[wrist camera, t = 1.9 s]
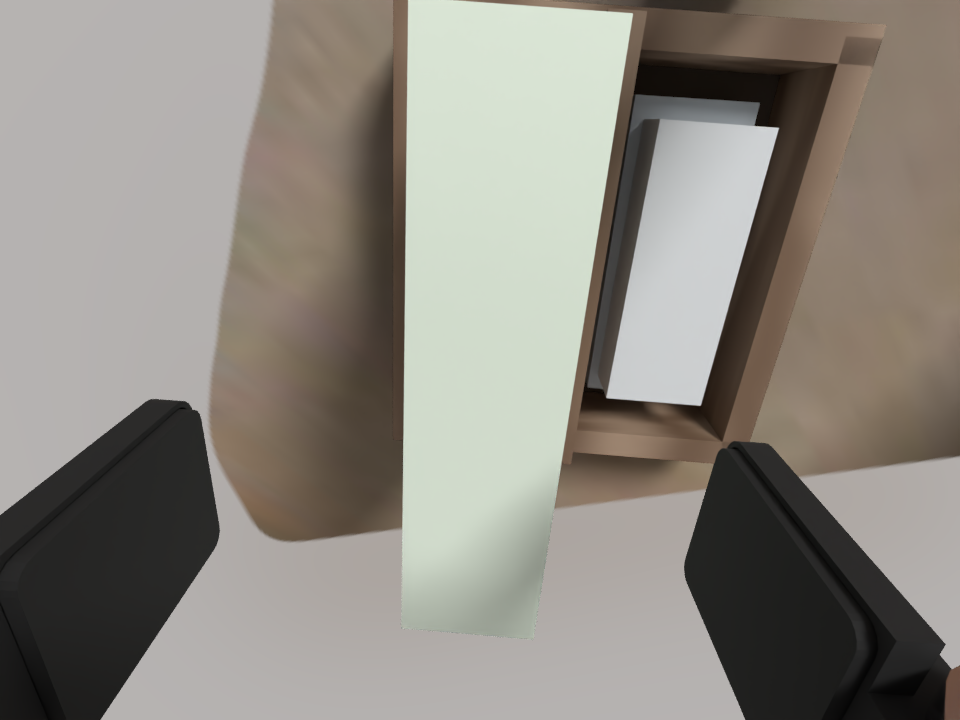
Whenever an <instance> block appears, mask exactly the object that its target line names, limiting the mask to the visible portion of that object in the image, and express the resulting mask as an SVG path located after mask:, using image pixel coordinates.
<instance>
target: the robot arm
mask: <svg viewBox="0 0 960 720" xmlns="http://www.w3.org/2000/svg"><path fill="white" fill-rule="evenodd" d="M219 532H220V530H219V521H218V515H217V509H216V504H215V498H214V492H213V486H212V480H211V474H210V468H209V463H208V457H207V451H206V445H205V439H204V433H203V427H202V421H201V417H200V414H199V413H198V411H195V410H192V408H191V406H190V405H189V403H187V402H185V401H172V400H159V399H151V400H148V401H147V402H145V403H144V404H142V405H141V406H140V407H139V408H138V409H136V410H135V411H134V412H132V413H131V414H130V415H128V416H127V417H126V418H124V419H123V420H122V421H121V422H119V423H118V424H117V425H116V426H114V427H113V428H112V429H110V430H109V431H108V432H107V433H105V434H104V435H103V436H101V437H100V438H99V439H97V440H96V441H95V442H94V443H93V444H91V445H90V446H88V447H87V448H86V449H85V450H83V451H82V452H81V453H79V454H78V455H77V456H76V457H74V458H73V459H72V460H71V461H69V462H68V463H67V464H65V465H64V466H63V467H62V468H60V469H59V470H58V471H56V472H55V473H54V474H53V475H51V476H50V477H49V478H47V479H46V480H45V481H44V482H42V483H41V484H40V485H38V486H37V487H36V488H35V489H34V490H32V491H31V492H29V493H28V494H27V495H26V496H24V497H23V498H22V499H20V500H19V501H18V502H17V503H15V504H14V505H13V506H11V507H10V508H9V509H8V510H6V511H5V512H4V513H3V514H1V515H0V720H100V719H101V718H102V717H103V715H104V713H105V712H106V711H107V709H108V708H109V706H110V704H111V703H112V702H113V700H114V699H115V697H116V696H117V694H118V693H119V691H120V690H121V688H122V687H123V685H124V683H125V682H126V681H127V679H128V678H129V676H130V675H131V673H132V672H133V670H134V669H135V667H136V666H137V664H138V663H139V661H140V660H141V658H142V657H143V655H144V654H145V652H146V651H147V649H148V648H149V646H150V645H151V643H152V642H153V640H154V639H155V637H156V635H157V634H158V633H159V631H160V630H161V628H162V627H163V625H164V624H165V622H166V621H167V619H168V618H169V616H170V615H171V613H172V612H173V610H174V609H175V607H176V606H177V604H178V603H179V601H180V600H181V598H182V597H183V595H184V594H185V592H186V591H187V589H188V588H189V586H190V585H191V583H192V582H193V580H194V579H195V577H196V576H197V574H198V572H199V571H200V570H201V568H202V567H203V565H204V564H205V562H206V561H207V559H208V558H209V556H210V555H211V553H212V552H213V550H214V549H215V546H216V545H217V542H218V538H219ZM684 571H685V578H686V581H687V584H688V586H689V589H690V591H691V594H692V596H693V598H694V601H695V603H696V605H697V608H698V610H699V612H700V615H701V617H702V619H703V621H704V624H705V626H706V628H707V631H708V633H709V635H710V638H711V640H712V643H713V645H714V647H715V650H716V652H717V654H718V657H719V659H720V661H721V664H722V666H723V668H724V670H725V673H726V675H727V678H728V680H729V682H730V685H731V687H732V689H733V692H734V694H735V696H736V699H737V701H738V703H739V706H740V708H741V710H742V713H743V715H744V717H745V720H960V666H958V667H956V668H954V669H951V668H950V667H949V666H948V664H947V663H946V662H945V661H944V660H943V659H942V657H941V656H940V653H941V651H942V650H943V648H944V646H945V643H944V642H943V641H942V640H941V639H940V637H939V636H938V635H937V634H936V633H935V632H934V631H933V629H932V628H931V627H930V626H929V625H928V624H927V623H926V622H925V620H924V619H923V618H922V617H921V616H920V615H919V614H918V613H917V611H916V610H915V609H914V608H913V607H912V606H911V605H910V603H909V602H908V601H907V600H906V599H905V598H904V597H903V595H902V594H901V593H900V592H899V591H898V590H897V589H896V588H895V586H894V585H893V584H892V583H891V582H890V581H889V580H888V578H887V577H886V576H885V575H884V574H883V573H882V572H881V571H880V569H879V568H878V567H877V566H876V565H875V564H874V563H873V561H872V560H871V559H870V558H869V557H868V556H867V555H866V553H865V552H864V551H863V550H862V549H861V548H860V547H859V546H858V544H857V543H856V542H855V541H854V540H853V539H852V538H851V536H850V535H849V534H848V533H847V532H846V531H845V530H844V528H843V527H842V526H841V525H840V524H839V523H838V522H837V520H835V518H834V517H833V516H832V515H831V514H830V513H829V512H828V510H827V509H826V508H825V507H824V506H823V505H822V504H821V502H820V501H819V500H818V499H817V498H816V497H815V496H814V494H813V493H812V492H811V491H810V490H809V489H808V488H807V486H806V485H805V484H804V483H803V482H802V481H801V480H800V478H799V477H798V476H797V475H796V474H795V473H794V472H793V471H792V469H791V468H790V467H789V466H788V465H787V464H786V463H785V461H784V460H783V459H782V458H781V457H780V456H779V455H778V453H777V452H776V451H775V450H774V449H773V448H772V447H771V446H770V445H769V444H766V443H755V442H741V441H733V442H731V443H730V444H729V445H728V447H727V448H722V449H720V450H719V452H718V454H717V456H716V459H715V463H714V466H713V469H712V472H711V476H710V479H709V482H708V486H707V489H706V492H705V496H704V499H703V502H702V506H701V509H700V512H699V516H698V519H697V522H696V526H695V529H694V532H693V536H692V539H691V542H690V546H689V549H688V552H687V556H686V559H685V565H684Z"/></svg>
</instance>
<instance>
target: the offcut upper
mask: <svg viewBox="0 0 960 720" xmlns="http://www.w3.org/2000/svg"><path fill="white" fill-rule="evenodd" d="M778 130H779V128H773V127H760V126H747V125H733V124H720V123H707V122H694V121H680V120H667V119H644V121H643V126H642V132H641V137H640V143H639V148H638V154H637V159H636V165H635V170H634V176H633V181H632V187H631V192H630V198H629V203H628V209H627V214H626V220H625V225H624V231H623V236H622V242H621V247H620V253H619V258H618V264H617V269H616V275H615V280H614V286H613V292H612V297H611V303H610V308H609V314H608V319H607V325H606V330H605V336H604V341H603V347H602V352H601V358H600V364H599V369H598V377H599V380H600V382H601V385H602V388H603V391H604V393H605V396H606V398H611V399H623V400H635V401H648V402H660V403H672V404H685V405H697V406H701V403H702V400H703V396H704V392H705V389H706V385H707V382H708V378H709V375H710V371H711V368H712V364H713V360H714V357H715V353H716V350H717V346H718V343H719V339H720V336H721V332H722V329H723V325H724V321H725V318H726V314H727V311H728V307H729V304H730V300H731V297H732V293H733V289H734V286H735V282H736V279H737V275H738V272H739V268H740V265H741V261H742V257H743V254H744V250H745V247H746V243H747V240H748V236H749V233H750V229H751V226H752V222H753V218H754V215H755V211H756V208H757V204H758V201H759V197H760V194H761V190H762V186H763V183H764V179H765V176H766V172H767V169H768V165H769V162H770V158H771V155H772V151H773V147H774V144H775V140H776V137H777V133H778Z"/></svg>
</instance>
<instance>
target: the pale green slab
mask: <svg viewBox="0 0 960 720" xmlns="http://www.w3.org/2000/svg"><path fill="white" fill-rule="evenodd" d="M632 17H633V13H622V12H608V11H594V10H581V9H567V8H553V7H539V6H526V5H512V4H498V3H484V2H471V1H457V0H408V59H407V153H406V247H405V341H404V436H403V530H402V533H403V535H402V536H403V537H402V540H403V541H402V627H401V628H404V629H416V630H428V631H440V632H451V633H462V634H475V635H485V636H497V637H508V638H520V639H531V640H532V639H533V638H534V632H535V626H536V619H537V613H538V607H539V601H540V594H541V588H542V582H543V575H544V569H545V563H546V556H547V550H548V544H549V537H550V532H551V525H552V519H553V513H554V507H555V500H556V494H557V488H558V481H559V475H560V469H561V463H562V456H563V450H564V444H565V438H566V431H567V425H568V419H569V412H570V406H571V400H572V394H573V387H574V381H575V375H576V369H577V362H578V356H579V350H580V344H581V337H582V331H583V325H584V318H585V312H586V306H587V300H588V293H589V287H590V281H591V275H592V268H593V262H594V256H595V249H596V243H597V237H598V231H599V224H600V218H601V212H602V206H603V199H604V193H605V187H606V180H607V174H608V168H609V162H610V155H611V149H612V143H613V137H614V130H615V124H616V118H617V111H618V105H619V99H620V93H621V86H622V80H623V74H624V68H625V61H626V55H627V49H628V43H629V36H630V30H631V24H632Z"/></svg>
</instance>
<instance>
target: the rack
mask: <svg viewBox="0 0 960 720" xmlns="http://www.w3.org/2000/svg"><path fill="white" fill-rule="evenodd" d="M457 1H471V2H484V3H498V4H512V5H526V6H539V7H553V8H567V9H581V10H594V11H608V12H622V13H633V17H632V24H631V30H630V36H629V43H628V49H627V55H626V61H625V68H624V74H623V80H622V86H621V93H620V99H619V105H618V111H617V118H616V124H615V130H614V137H613V143H612V149H611V155H610V162H609V168H608V174H607V180H606V187H605V193H604V199H603V206H602V212H601V218H600V224H599V231H598V237H597V243H596V249H595V256H594V262H593V268H592V275H591V281H590V287H589V293H588V300H587V306H586V312H585V318H584V325H583V331H582V337H581V344H580V350H579V356H578V362H577V369H576V375H575V381H574V387H573V394H572V400H571V406H570V412H569V419H568V425H567V431H566V438H565V444H564V450H563V456H562V463H561V464H571V461H572V455H573V452H578V453H590V454H602V455H614V456H626V457H639V458H651V459H663V460H675V461H687V462H699V463H712V464H714V463H715V459H716V456H717V454H718V452H719V450H720V449H722V448H727V447H728V445H729V444H730V443H731V442H733V441H741V442H750V439H751V436H752V433H753V430H754V427H755V424H756V420H757V417H758V414H759V411H760V408H761V405H762V402H763V399H764V396H765V393H766V390H767V387H768V384H769V381H770V378H771V375H772V372H773V369H774V366H775V363H776V360H777V357H778V354H779V351H780V348H781V345H782V342H783V339H784V336H785V333H786V330H787V327H788V323H789V320H790V317H791V314H792V311H793V308H794V305H795V302H796V299H797V296H798V293H799V290H800V287H801V284H802V281H803V278H804V275H805V272H806V269H807V266H808V263H809V260H810V257H811V254H812V251H813V248H814V245H815V242H816V239H817V236H818V233H819V229H820V226H821V223H822V220H823V217H824V214H825V211H826V208H827V205H828V202H829V199H830V196H831V193H832V190H833V187H834V184H835V181H836V178H837V175H838V172H839V169H840V166H841V163H842V160H843V157H844V154H845V151H846V148H847V145H848V142H849V139H850V136H851V132H852V129H853V126H854V123H855V120H856V117H857V114H858V111H859V108H860V105H861V102H862V99H863V96H864V93H865V90H866V87H867V84H868V81H869V78H870V75H871V72H872V69H873V66H874V63H875V60H876V57H877V54H878V51H879V48H880V45H881V42H882V38H883V35H884V32H885V29H886V26H887V25H881V24H867V23H854V22H840V21H826V20H812V19H799V18H785V17H771V16H757V15H744V14H730V13H716V12H702V11H689V10H675V9H661V8H647V7H634V6H620V5H606V4H592V3H579V2H565V1H551V0H457ZM407 59H408V0H393V440H403V436H404V341H405V247H406V153H407ZM638 64H639V65H652V66H666V67H679V68H693V69H706V70H720V71H733V72H747V73H760V74H774V75H781V76H780V80H779V83H778V87H777V91H776V95H775V98H774V102H773V106H772V110H771V113H770V117H769V121H768V124H767V127H773V128H779V130H778V133H777V137H776V140H775V144H774V147H773V151H772V155H771V158H770V162H769V165H768V169H767V172H766V176H765V179H764V183H763V186H762V190H761V194H760V197H759V201H758V204H757V208H756V211H755V215H754V218H753V222H752V226H751V229H750V233H749V236H748V240H747V243H746V247H745V250H744V254H743V257H742V261H741V265H740V268H739V272H738V275H737V279H736V282H735V286H734V289H733V293H732V297H731V300H730V304H729V307H728V311H727V314H726V318H725V321H724V325H723V329H722V332H721V336H720V339H719V343H718V346H717V350H716V353H715V357H714V360H713V364H712V368H711V371H710V375H709V378H708V382H707V385H706V389H705V392H704V396H703V400H702V403H701V406H697V405H685V404H672V403H660V402H648V401H635V400H623V399H611V398H606V396H605V393H593V392H583V390H584V384H585V378H586V372H587V366H588V360H589V354H590V348H591V342H592V336H593V330H594V324H595V318H596V313H597V307H598V301H599V295H600V289H601V283H602V277H603V271H604V265H605V259H606V253H607V247H608V241H609V235H610V230H611V224H612V218H613V212H614V206H615V200H616V194H617V188H618V182H619V176H620V170H621V164H622V158H623V152H624V146H625V141H626V135H627V129H628V123H629V117H630V111H631V105H632V99H633V93H634V87H635V81H636V75H637V69H638Z"/></svg>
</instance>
